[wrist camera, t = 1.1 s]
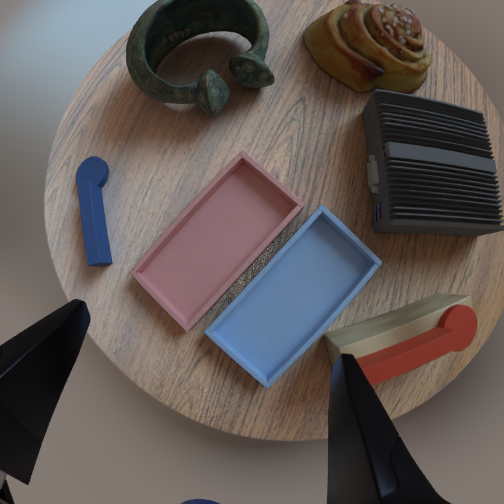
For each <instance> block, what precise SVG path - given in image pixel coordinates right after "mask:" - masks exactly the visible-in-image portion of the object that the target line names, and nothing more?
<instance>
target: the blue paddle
mask: <svg viewBox="0 0 504 504" xmlns="http://www.w3.org/2000/svg"><path fill="white" fill-rule="evenodd" d="M108 174H109V169H108V165H107V164H106V162H105V161H103V160H102V159H101V158H99V157H95V156H94V157H89V158H87V159H86V160H84V161H83V162H82V163H81V165H80V166H79V168H78V170H77V173H76V182H77V185H78V191H79V202H80V212H81V221H82V229H83V236H84V243H85V249H86V256H87V262H88V266H98V267H102V266H105V265H108V264H112V258H111V252H110V246H109V240H108V234H107V228H106V221H105V214H104V207H103V199H102V190H101V188H102V187H103V186H104V184H105V183H106V181H107V178H108Z"/></svg>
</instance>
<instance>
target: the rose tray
mask: <svg viewBox="0 0 504 504" xmlns="http://www.w3.org/2000/svg"><path fill="white" fill-rule="evenodd" d="M304 206H305V203H303V202H302V201H301V200H300V199H299V198H298V197H297V196H296V195H294V194H293V193H292V192H291V191H290V190H289V189H288V188H286V187H285V186H284V185H283V184H282V183H281V182H279V181H278V180H277V179H276V178H275V177H274V176H272V175H271V174H270V173H269V172H268V171H267V170H265V169H264V168H263V167H262V166H261V165H259V164H258V163H257V162H256V161H255V160H253V159H252V158H251V157H250V156H249V155H247V154H246V153H245V152H244V151H241V152H240V153H239V154H238V155H237V156H236V157H235V158H234V159H233V160H232V161H231V162H230V163H229V164H228V165H227V166H226V167H225V168H224V169H223V170H222V171H221V172H220V173H219V174H218V175H217V176H216V177H215V178H214V179H213V180H212V181H211V182H210V183H209V184H208V185H207V186H206V187H205V188H204V189H203V190H202V191H201V193H200V194H199V195H198V196H197V197H196V198H195V199H194V200H193V201H192V202H191V203H190V204H189V205H188V206H187V207H186V209H185V210H184V211H183V212H182V213H181V214H180V215H179V216H178V217H177V218H176V219H175V221H174V222H173V223H172V224H171V225H170V226H169V227H168V228H167V229H166V231H165V232H164V233H163V234H162V235H161V236H160V237H159V238H158V240H157V241H156V242H155V243H154V244H153V245H152V246H151V248H150V249H149V250H148V251H147V252H146V253H145V255H144V256H143V257H142V258H141V259H140V260H139V262H138V263H137V264H136V265H135V266H134V268H133V269H132V270H131V271H130V272H129V273H130V274H131V275H132V276H133V277H134V278H135V279H136V280H137V282H138V283H139V284H140V285H141V286H142V287H143V288H144V289H145V290H146V291H147V292H148V293H149V294H150V295H151V296H152V297H153V298H154V299H155V300H156V301H157V302H158V303H159V305H160V306H161V307H162V308H163V309H164V310H165V311H166V312H167V313H168V314H169V315H170V316H171V317H172V318H173V319H174V320H175V321H176V322H178V323H179V324H180V325H181V326H182V327H183V328H184V329H185V330H186V331H187V332H188V331H190V330H191V329H192V328H193V327H194V326H195V325H196V324H197V323H198V322H199V321H200V320H201V319H202V318H203V317H204V316H205V315H206V314H207V312H208V311H209V310H210V309H211V308H212V307H213V306H214V305H215V304H216V303H217V302H218V301H219V300H220V298H221V297H222V296H223V295H224V294H225V293H226V292H227V291H228V290H229V289H230V288H231V287H232V286H233V284H234V283H235V282H236V281H237V280H238V279H239V278H240V277H241V276H242V275H243V274H244V273H245V272H246V270H247V269H248V268H249V267H250V266H251V265H252V264H253V263H254V262H255V261H256V260H257V259H258V257H259V256H260V255H261V254H262V253H263V252H264V251H265V250H266V249H267V248H268V247H269V246H270V244H271V243H272V242H273V241H274V240H275V239H276V238H277V237H278V236H279V235H280V234H281V233H282V231H283V230H284V229H285V228H286V227H287V226H288V225H289V224H290V223H291V222H292V221H293V219H294V218H295V217H296V216H297V215H298V214H299V213H300V212H301V211H302V210H303V208H304Z"/></svg>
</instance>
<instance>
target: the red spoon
mask: <svg viewBox="0 0 504 504" xmlns="http://www.w3.org/2000/svg"><path fill="white" fill-rule="evenodd" d="M476 330H477V318H476V314H475V312H474V311H473V310H472V308H470V307H469V306H467V305H460V304H456V305H452V306H450V307H449V308H448V309H447V310H445V312H444V313H443V314H442V316H441V318H440V321H439V324H438V326H437V327H435V328H433V329H431V330H428V331H426V332H424V333H422V334H419V335H417V336H415V337H412V338H410V339H407V340H405V341H402V342H400V343H397V344H395V345H392V346H390V347H387V348H385V349H382V350H379V351H377V352H374V353H371V354H368V355H366V356H363V357H360V358H357V359H356V360H357V362H358V364H359V365H360V367H361V369H362V370H363V372H364V374H365V376H366V377H367V379H368V381H369V382H370V384H371V386H372V385H375V384H378V383H380V382H383V381H385V380H388V379H390V378H393V377H395V376H398V375H400V374H403V373H405V372H407V371H410V370H412V369H414V368H416V367H419V366H421V365H423V364H425V363H427V362H430V361H432V360H434V359H436V358H438V357H440V356H442V355H444V354H446V353H448V352H450V351H461V350H463V349H465V348H466V347H468V346H469V345H470V343H471V342H472V341H473V339H474V337H475V334H476Z"/></svg>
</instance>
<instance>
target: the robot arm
mask: <svg viewBox="0 0 504 504" xmlns="http://www.w3.org/2000/svg"><path fill="white" fill-rule="evenodd" d="M89 324H90V314H89V311H88V308H87V305H86V303H85V302H84V301H82V300H78V299H74V300H72V301H71V302H69V303H67V304H66V305H64V306H62V307H61V308H59V309H57V310H56V311H54V312H52V313H51V314H49V315H48V316H46V317H44V318H43V319H41V320H39V321H38V322H36V323H35V324H33V325H31V326H30V327H28V328H27V329H25V330H24V331H22V332H20V333H19V334H17V335H16V336H14V337H13V338H11V339H10V340H8V341H6V342H5V343H4V344H2V345H1V346H0V504H14V501H13V498H12V495H11V492H10V490H9V487H8V484H7V480H6V479H5V478H6V475H7V474H8V475H10V476H12V477H14V478H15V479H18V480H19V481H21V482H23V483H25V484H27V485H28V484H29V482H30V479H31V475H32V472H33V469H34V465H35V463H36V460H37V457H38V454H39V451H40V448H41V445H42V442H43V439H44V436H45V433H46V431H47V428H48V426H49V423H50V420H51V418H52V415H53V413H54V410H55V408H56V405H57V403H58V400H59V398H60V395H61V393H62V391H63V388H64V386H65V384H66V381H67V379H68V377H69V375H70V372H71V370H72V368H73V366H74V364H75V361H76V359H77V357H78V354H79V352H80V349H81V346H82V343H83V340H84V337H85V335H86V332H87V329H88V327H89ZM327 504H451V503H449V502H447V501H446V500H444V499H443V498H442V497H441V496H440V495H439V494H438V493H437V492H436V491H435V490H434V488H433V487H432V485H431V484H430V482H429V481H428V480H427V478H426V477H425V475H424V474H423V473H422V471H421V470H420V468H419V467H418V465H417V464H416V462H415V461H414V459H413V458H412V456H411V455H410V453H409V451H408V450H407V448H406V446H405V444H404V443H403V441H402V439H401V437H399V434H398V432H397V430H396V428H395V427H394V425H393V423H392V421H391V419H390V418H389V416H388V414H387V412H386V410H385V409H384V407H383V405H382V403H381V402H380V400H379V398H378V396H377V395H376V393H375V391H374V389H373V388H372V386H371V384H370V382H369V381H368V379H367V377H366V376H365V374H364V372H363V370H362V369H361V367H360V365H359V364H358V362H357V360H356V358H355V357H354V355H352V354H348V353H341V354H340V355H339V357H338V359H337V361H336V363H335V365H334V366H333V369H332V377H331V388H330V399H329V409H328V490H327Z"/></svg>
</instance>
